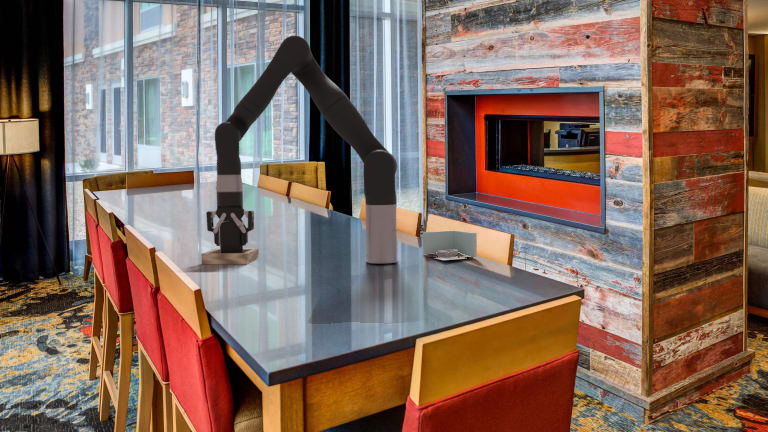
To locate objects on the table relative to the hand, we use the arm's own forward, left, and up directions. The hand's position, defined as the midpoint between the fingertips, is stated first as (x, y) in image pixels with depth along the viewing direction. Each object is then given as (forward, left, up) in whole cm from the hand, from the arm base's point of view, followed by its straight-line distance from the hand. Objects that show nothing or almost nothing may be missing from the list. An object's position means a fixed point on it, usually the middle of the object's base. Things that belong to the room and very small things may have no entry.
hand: (231, 245), depth 185 cm
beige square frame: (0, 0, -5) cm, 5 cm away
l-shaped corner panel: (-66, -10, -5) cm, 67 cm away
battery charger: (0, 0, -4) cm, 4 cm away
